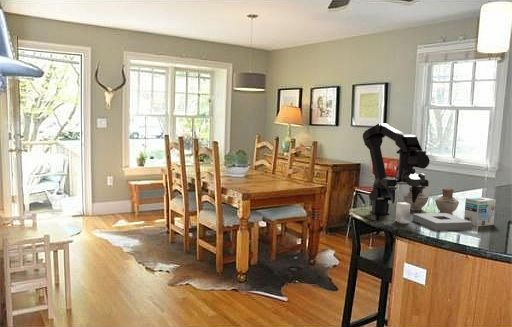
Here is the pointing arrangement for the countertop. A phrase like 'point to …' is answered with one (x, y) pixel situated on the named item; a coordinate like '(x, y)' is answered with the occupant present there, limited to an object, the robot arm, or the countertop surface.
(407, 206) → the beige rectangular block
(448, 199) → the pottery
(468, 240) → the countertop surface
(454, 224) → the square nut plate
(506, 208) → the countertop surface
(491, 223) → the light bulb box
